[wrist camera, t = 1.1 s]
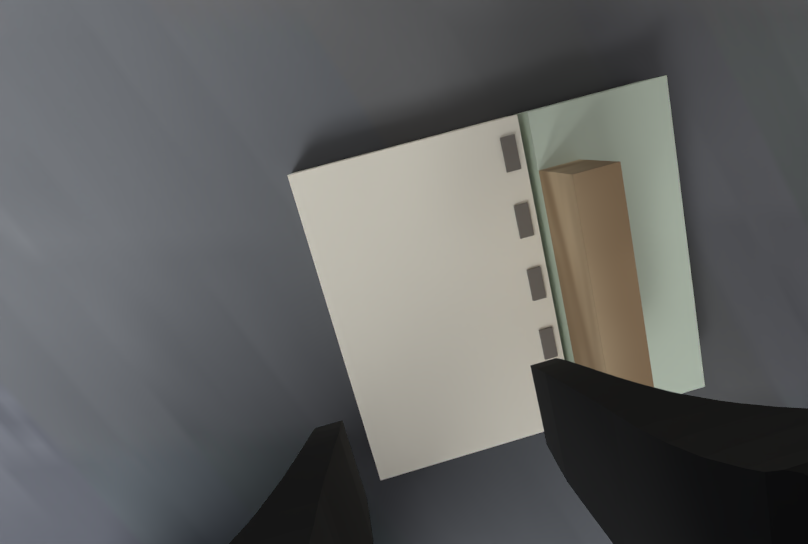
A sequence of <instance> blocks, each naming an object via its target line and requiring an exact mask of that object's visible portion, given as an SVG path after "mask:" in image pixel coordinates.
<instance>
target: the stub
mask: <svg viewBox="0 0 808 544" xmlns="http://www.w3.org/2000/svg"><path fill="white" fill-rule="evenodd" d="M514 115H517V116H518V122H519V127H520V132H521V137H522V142H523V148H524V153H525V158H526V163H527V168H528V174H529V179H530V184H531V189H532V194H533V199H534V205H535V210H536V215H537V220H538V225H539V231H540V236H541V241H542V246H543V251H544V257H545V262H546V267H547V272H548V277H549V282H550V288H551V293H552V298H553V303H554V308H555V314H556V319H557V324H558V329H559V334H560V340H561V345H562V350H563V355H564V360H567V361H570V362H573V363H577V364H580V365H583V366H586V367H589V368H592V369H595V370H598V371H601V372H604V373H607V374H610V375H613V376H616V377H619V378H622V379H626V380H629V381H632V382H636V383H639V384H643V385H647V386H651V387H655V388H658V389H662V390H666V391H670V392H675V393H679V394H682V393H685V392H688V391H692V390H695V389H698V388H702V387H705V383H704V375H703V367H702V359H701V350H700V342H699V334H698V326H697V318H696V310H695V302H694V293H693V285H692V277H691V269H690V261H689V253H688V245H687V236H686V228H685V220H684V212H683V204H682V196H681V188H680V179H679V171H678V163H677V155H676V147H675V139H674V131H673V123H672V114H671V106H670V98H669V90H668V82H667V75H665V76H661V77H656V78H652V79H647V80H642V81H639V82H635V83H631V84H627V85H623V86H620V87H616V88H612V89H608V90H605V91H601V92H597V93H593V94H589V95H586V96H582V97H578V98H574V99H570V100H567V101H563V102H559V103H555V104H552V105H548V106H544V107H540V108H536V109H533V110H529V111H525V112H521V113H518V114H514Z"/></svg>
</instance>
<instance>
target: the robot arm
mask: <svg viewBox="0 0 808 544" xmlns="http://www.w3.org/2000/svg"><path fill="white" fill-rule="evenodd" d="M530 367H531V371H532V376H533V381H534V385H535V390H536V395H537V400H538V404H539V409H540V414H541V419H542V423H543V428H544V433H545V438H546V442H547V446H548V448H549V449H550V451H551V453H552V455H553V457H554V459H555V460H556V462H557V464H558V466H559V468H560V469H561V471H562V473H563V475H564V477H565V478H566V480H567V482H568V483H569V484H570V486H571V487H572V489H573V490H574V491H575V493H576V494H577V495H578V497H579V498H580V500H581V501H582V502H583V504H584V505H585V506H586V508H587V509H588V510H589V512H590V513H591V514H592V516H593V517H594V518H595V520H596V521H597V522H598V524H599V525H600V526H601V528H602V529H603V530H604V532H605V533H606V534H607V536H608V537H609V538H610V540H611V541H612V543H613V544H808V409H806V408H787V407H772V406H762V405H751V404H741V403H733V402H725V401H718V400H712V399H707V398H701V397H695V396H689V395H684V394H679V393H675V392H670V391H666V390H662V389H658V388H655V387H651V386H647V385H643V384H639V383H636V382H632V381H629V380H626V379H622V378H619V377H616V376H613V375H610V374H607V373H604V372H601V371H598V370H595V369H592V368H589V367H586V366H583V365H580V364H577V363H573V362H570V361H567V360H563V359H559V358H554V359H551V360H547V361H544V362H541V363H537V364H534V365H530ZM229 544H373V536H372V529H371V522H370V515H369V509H368V502H367V497H366V494H365V491H364V488H363V484H362V481H361V478H360V475H359V472H358V469H357V465H356V462H355V459H354V456H353V453H352V450H351V446H350V443H349V440H348V437H347V434H346V431H345V427H344V424H343V421H339V422H335V423H332V424H328V425H325V426H321V427H318V428H315V429H314V431H313V432H312V434H311V435H310V437H309V438H308V440H307V442H306V443H305V445H304V446H303V448H302V450H301V451H300V453H299V454H298V456H297V457H296V459H295V461H294V462H293V464H292V465H291V467H290V468H289V470H288V471H287V473H286V474H285V476H284V477H283V479H282V480H281V481H280V483H279V484H278V485H277V487H276V488H275V489H274V491H273V492H272V493H271V495H270V496H269V497H268V499H267V500H266V501H265V503H264V504H263V505H262V507H261V508H260V509H259V511H258V512H257V513H256V514H255V515H254V517H253V518H252V519H251V520H250V521H249V523H248V524H247V525H246V526H245V527H244V528H243V529H242V530H241V532H240V533H239V534H238V535H237V536H236V537H235V538H234V539H233V540H232V541H231V542H230V543H229Z"/></svg>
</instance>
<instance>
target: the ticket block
mask: <svg viewBox="0 0 808 544" xmlns="http://www.w3.org/2000/svg"><path fill="white" fill-rule="evenodd" d="M287 176H288V179H289V182H290V185H291V189H292V192H293V195H294V199H295V202H296V205H297V208H298V212H299V215H300V218H301V222H302V225H303V228H304V231H305V235H306V238H307V241H308V244H309V248H310V251H311V254H312V258H313V261H314V264H315V267H316V271H317V274H318V277H319V280H320V284H321V287H322V290H323V294H324V297H325V300H326V303H327V307H328V310H329V313H330V317H331V320H332V323H333V326H334V330H335V333H336V336H337V339H338V343H339V346H340V349H341V353H342V356H343V359H344V362H345V366H346V369H347V372H348V376H349V379H350V382H351V385H352V389H353V392H354V395H355V398H356V402H357V405H358V408H359V412H360V415H361V418H362V421H363V425H364V428H365V431H366V434H367V438H368V441H369V444H370V448H371V451H372V454H373V457H374V461H375V464H376V467H377V471H378V474H379V477H380V480H384V479H388V478H391V477H394V476H398V475H401V474H404V473H408V472H411V471H414V470H418V469H421V468H424V467H428V466H431V465H434V464H438V463H441V462H444V461H448V460H451V459H454V458H458V457H461V456H464V455H468V454H471V453H474V452H478V451H481V450H484V449H488V448H491V447H494V446H498V445H501V444H504V443H508V442H511V441H514V440H518V439H521V438H524V437H528V436H531V435H534V434H538V433H541V432H544V428H543V423H542V419H541V414H540V409H539V404H538V400H537V395H536V390H535V385H534V381H533V376H532V371H531V367H530V365H534V364H537V363H541V362H544V361H547V360H551V359H554V358H559V359H563V360H564V355H563V350H562V345H561V340H560V334H559V329H558V324H557V319H556V314H555V308H554V303H553V298H552V293H551V288H550V282H549V277H548V272H547V267H546V262H545V257H544V251H543V246H542V241H541V236H540V231H539V225H538V220H537V215H536V210H535V205H534V199H533V194H532V189H531V184H530V179H529V174H528V168H527V163H526V158H525V153H524V148H523V142H522V137H521V132H520V127H519V122H518V116H517V115H512V116H506V117H502V118H498V119H494V120H490V121H487V122H483V123H479V124H475V125H472V126H468V127H464V128H460V129H456V130H453V131H449V132H445V133H441V134H438V135H434V136H430V137H426V138H422V139H419V140H415V141H411V142H407V143H403V144H400V145H396V146H392V147H388V148H385V149H381V150H377V151H373V152H369V153H366V154H362V155H358V156H354V157H350V158H347V159H343V160H339V161H335V162H332V163H328V164H324V165H320V166H316V167H313V168H309V169H305V170H301V171H297V172H294V173H291V174H289V175H287Z"/></svg>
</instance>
